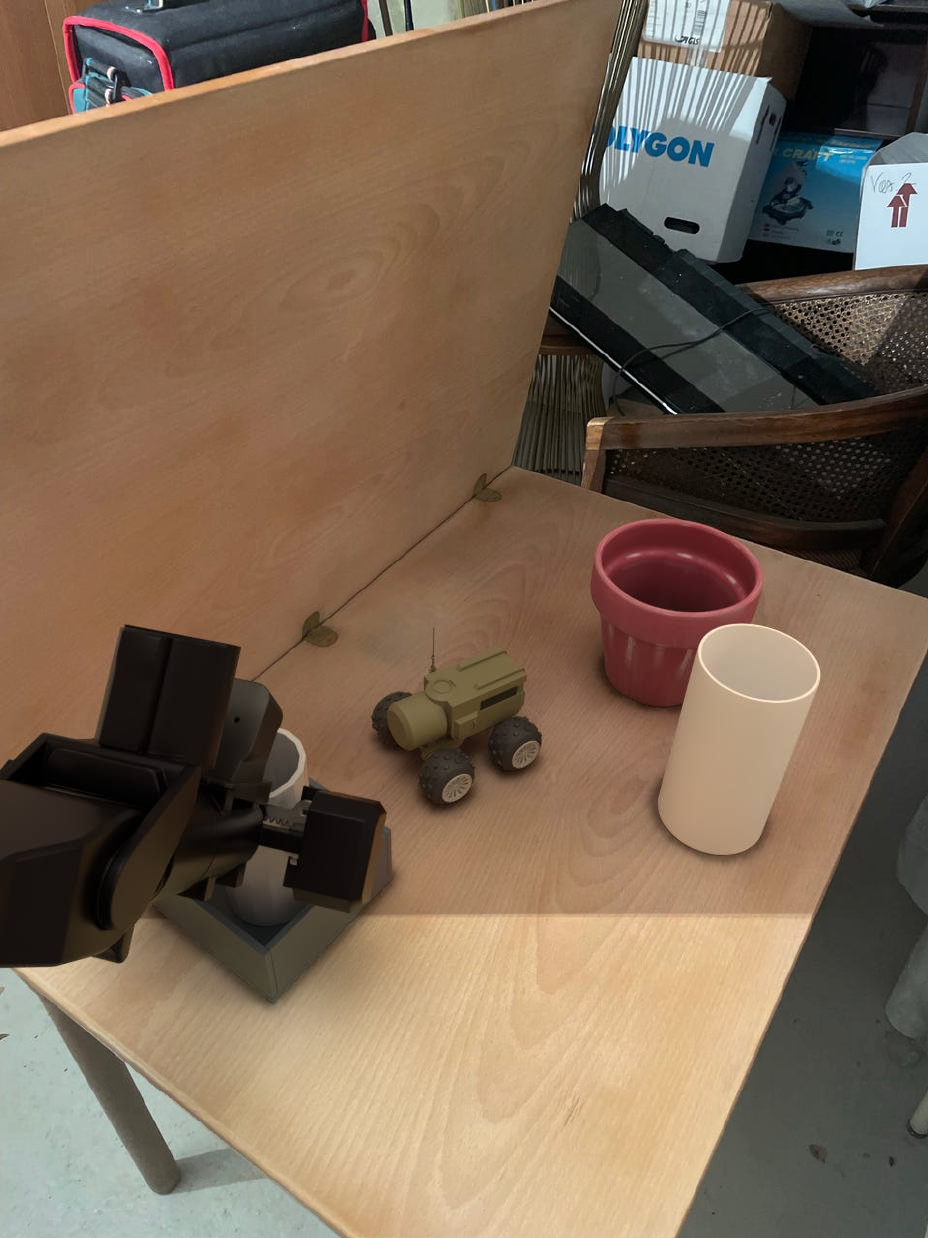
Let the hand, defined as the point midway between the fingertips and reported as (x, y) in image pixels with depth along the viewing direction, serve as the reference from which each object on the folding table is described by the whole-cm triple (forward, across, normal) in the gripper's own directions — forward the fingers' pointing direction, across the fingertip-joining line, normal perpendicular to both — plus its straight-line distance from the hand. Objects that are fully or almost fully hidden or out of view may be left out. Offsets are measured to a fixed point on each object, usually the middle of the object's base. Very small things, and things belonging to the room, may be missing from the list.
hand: (272, 811), depth 61 cm
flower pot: (+26, -25, -16) cm, 39 cm away
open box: (+4, 0, +6) cm, 7 cm away
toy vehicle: (+16, -9, -6) cm, 19 cm away
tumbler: (+4, 0, +6) cm, 7 cm away
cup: (+15, -30, -5) cm, 34 cm away
